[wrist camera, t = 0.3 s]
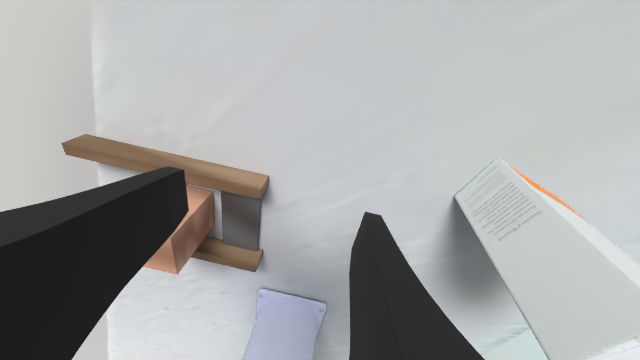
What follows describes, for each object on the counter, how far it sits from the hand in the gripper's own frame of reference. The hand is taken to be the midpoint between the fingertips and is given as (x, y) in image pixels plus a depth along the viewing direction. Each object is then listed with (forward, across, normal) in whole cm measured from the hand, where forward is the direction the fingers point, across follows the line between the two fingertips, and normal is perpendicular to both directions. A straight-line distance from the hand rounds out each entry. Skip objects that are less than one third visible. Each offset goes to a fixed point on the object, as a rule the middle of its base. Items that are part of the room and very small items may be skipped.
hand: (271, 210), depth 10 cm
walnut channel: (+10, +11, +10) cm, 18 cm away
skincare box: (+10, -15, +2) cm, 18 cm away
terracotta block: (+10, +10, +10) cm, 17 cm away
